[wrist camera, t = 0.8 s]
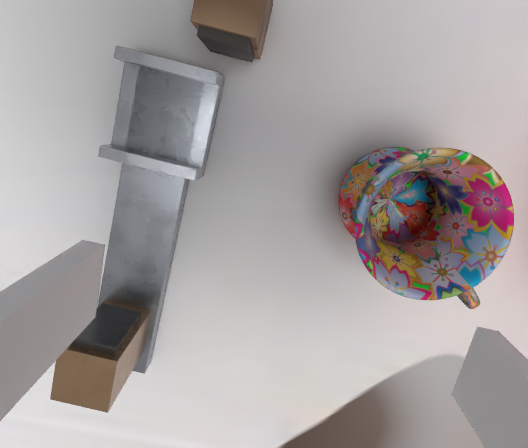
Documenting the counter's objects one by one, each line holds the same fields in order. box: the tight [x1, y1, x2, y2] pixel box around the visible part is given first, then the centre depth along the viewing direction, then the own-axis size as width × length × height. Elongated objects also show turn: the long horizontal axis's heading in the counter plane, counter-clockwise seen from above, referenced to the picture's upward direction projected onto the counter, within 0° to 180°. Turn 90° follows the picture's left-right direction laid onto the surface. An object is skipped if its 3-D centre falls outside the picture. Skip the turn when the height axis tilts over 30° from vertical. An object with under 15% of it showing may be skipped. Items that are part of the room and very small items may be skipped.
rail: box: [50, 46, 225, 412], centre depth 31 cm, size 26×7×10 cm, turn 166°
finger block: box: [191, 0, 273, 62], centre depth 29 cm, size 5×4×8 cm
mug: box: [339, 147, 514, 309], centre depth 30 cm, size 12×9×11 cm
